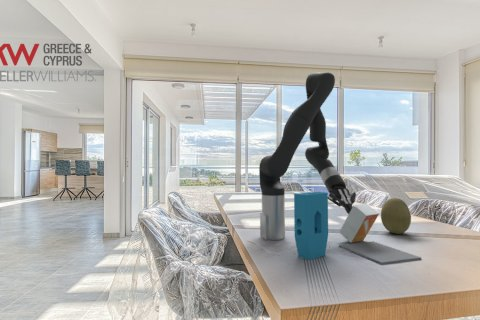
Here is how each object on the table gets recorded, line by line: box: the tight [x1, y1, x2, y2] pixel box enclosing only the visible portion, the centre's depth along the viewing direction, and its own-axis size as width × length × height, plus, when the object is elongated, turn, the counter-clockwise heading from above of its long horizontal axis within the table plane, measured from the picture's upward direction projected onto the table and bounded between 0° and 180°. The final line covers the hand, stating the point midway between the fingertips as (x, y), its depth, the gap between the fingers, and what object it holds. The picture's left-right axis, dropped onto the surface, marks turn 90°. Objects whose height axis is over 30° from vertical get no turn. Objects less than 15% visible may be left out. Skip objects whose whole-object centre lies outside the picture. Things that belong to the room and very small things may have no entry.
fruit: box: [380, 197, 412, 235], centre depth 124 cm, size 11×11×15 cm
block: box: [293, 191, 329, 261], centre depth 94 cm, size 12×5×20 cm, turn 128°
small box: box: [338, 203, 380, 244], centre depth 110 cm, size 8×6×13 cm
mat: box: [338, 240, 422, 265], centre depth 97 cm, size 15×20×1 cm
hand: (352, 213), depth 112 cm, fingers closed
